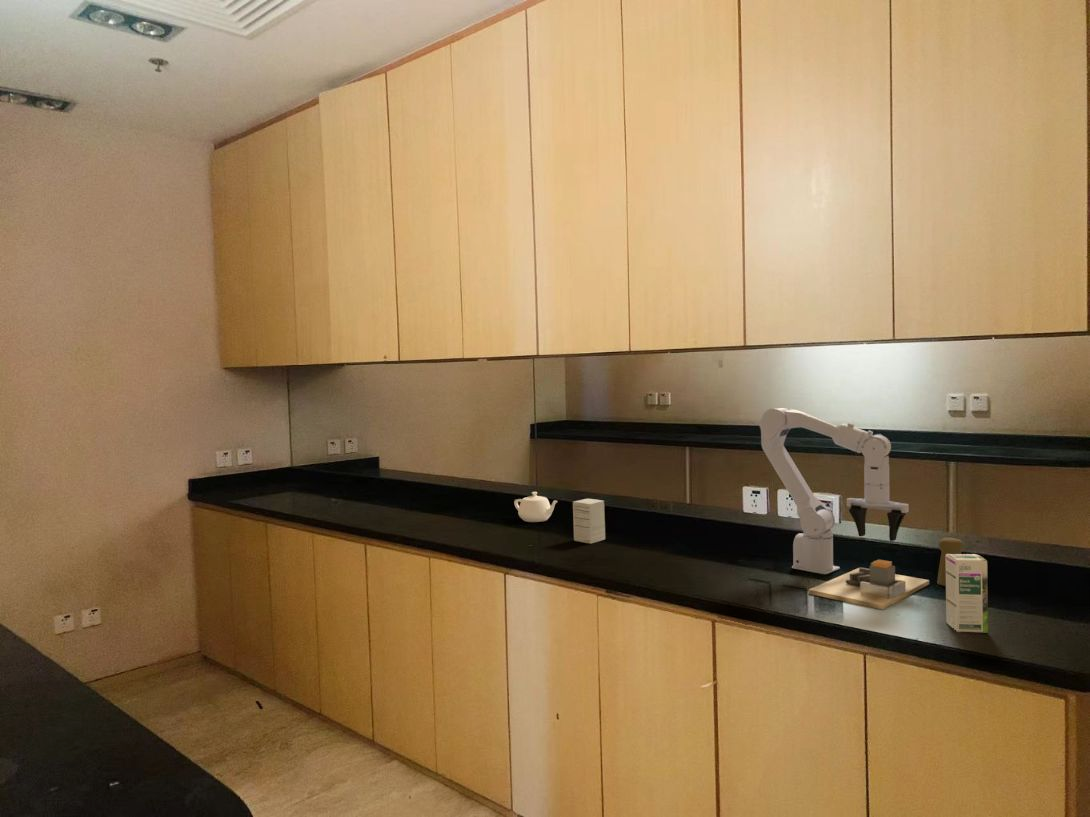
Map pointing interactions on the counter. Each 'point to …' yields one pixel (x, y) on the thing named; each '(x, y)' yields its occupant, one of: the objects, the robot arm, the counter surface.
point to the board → (852, 594)
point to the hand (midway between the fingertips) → (877, 537)
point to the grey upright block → (882, 573)
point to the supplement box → (589, 520)
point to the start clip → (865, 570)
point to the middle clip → (859, 577)
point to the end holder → (883, 589)
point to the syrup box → (966, 592)
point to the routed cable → (855, 582)
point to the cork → (947, 548)
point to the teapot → (534, 508)
